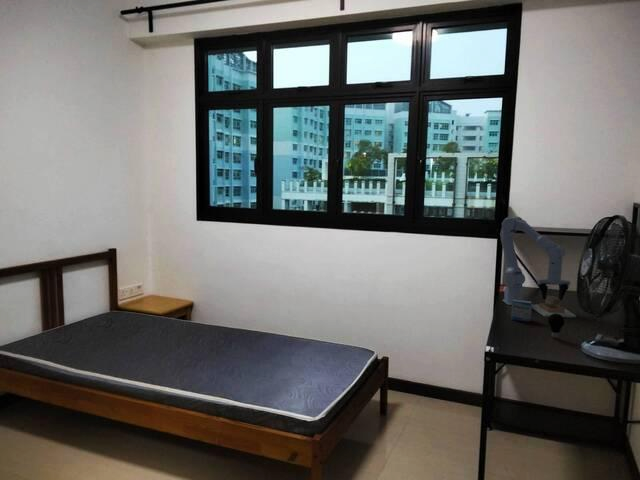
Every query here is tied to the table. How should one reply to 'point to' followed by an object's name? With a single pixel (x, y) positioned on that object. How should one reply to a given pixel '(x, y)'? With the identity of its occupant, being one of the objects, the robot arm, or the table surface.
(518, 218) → the robot arm
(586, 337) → the table surface
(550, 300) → the oak block
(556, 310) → the holder
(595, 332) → the table surface
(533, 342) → the table surface
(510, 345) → the table surface
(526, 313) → the medicine box
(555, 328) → the light bulb
